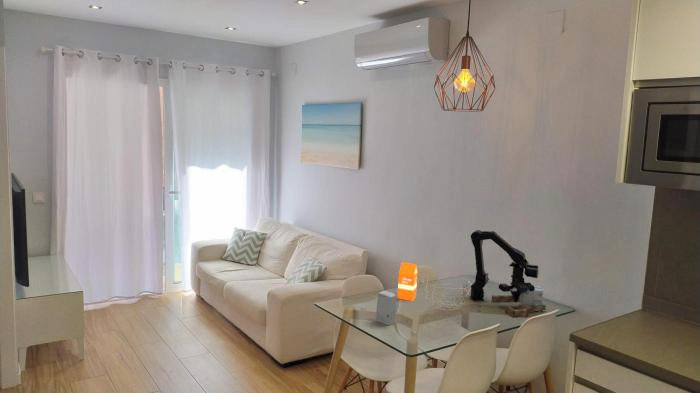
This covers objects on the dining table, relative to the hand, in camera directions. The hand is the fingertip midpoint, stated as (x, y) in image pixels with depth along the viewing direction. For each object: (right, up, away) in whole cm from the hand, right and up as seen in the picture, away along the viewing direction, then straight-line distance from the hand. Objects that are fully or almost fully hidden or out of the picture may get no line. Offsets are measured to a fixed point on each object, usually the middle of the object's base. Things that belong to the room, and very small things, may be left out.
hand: (515, 302), depth 278 cm
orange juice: (-59, +1, +8) cm, 60 cm away
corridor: (+2, -3, -2) cm, 4 cm away
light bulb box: (+9, -3, +2) cm, 10 cm away
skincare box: (-74, -4, -28) cm, 79 cm away
